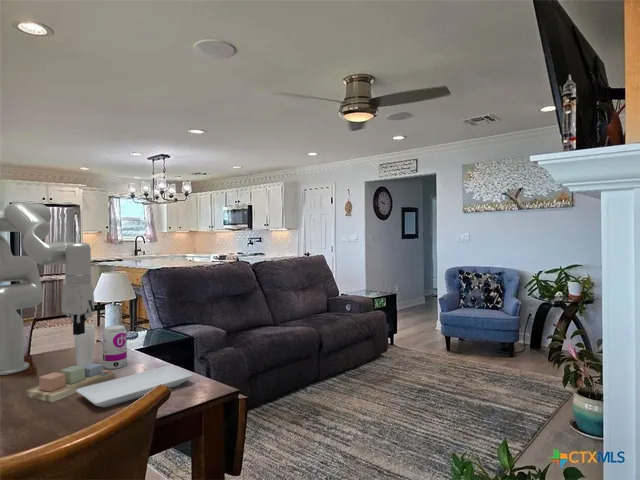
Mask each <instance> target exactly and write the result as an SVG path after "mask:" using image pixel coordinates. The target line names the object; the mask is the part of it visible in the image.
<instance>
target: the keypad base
mask: <svg viewBox="0 0 640 480" xmlns="http://www.w3.org/2000/svg"><path fill="white" fill-rule="evenodd" d="M115 377H116V376H115V371H113V370H105V369H102V373H100V374H98V375H96V376H93V377H91V378H88V377H85V379H84V380H81V381H78V382H76V383H73V384H67V383H65V387H62V388H60V389H57V390H54V391H52V392H48V391H43V390H39V385H37V386H34V387H31V388H28V389H26V390H24V392H25V395H24V396H25V397H26V398H30V399H34V400H40V401H43V402H49V403H54V402H57V401H60V400H63V399H64V398H67V397H70V396H72V395H75V394H78V393H77V392H76V390H77V389H79V388H83V387H86V386H90V385H94V384H98V383H102V382H106V381H110V380H113V379H116V378H115Z"/></svg>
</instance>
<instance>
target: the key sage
mask: <svg viewBox="0 0 640 480" xmlns="http://www.w3.org/2000/svg"><path fill="white" fill-rule="evenodd" d="M59 373H63V374H65V383H67V384H69V385H72V384H75V383H76V382H78V381H81V380H84V379H85V367H80V366H77V365H72V366H71V365H70V366H67V367H65V368H62V369H60V370H59Z"/></svg>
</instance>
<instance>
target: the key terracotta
mask: <svg viewBox="0 0 640 480" xmlns="http://www.w3.org/2000/svg"><path fill="white" fill-rule="evenodd" d="M38 380H39V381H38V383H39V384H38V386H39V390H43V391H48V392H49V393H51V392H54V391H56V390H57V389H60V388H62V387H65V374H63V373H60V372H56V371H53V372H51V373H47V374H44V375H41V376H39V377H38Z"/></svg>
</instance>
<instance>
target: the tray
mask: <svg viewBox="0 0 640 480" xmlns="http://www.w3.org/2000/svg"><path fill="white" fill-rule="evenodd" d="M193 376H194V375H193V374H192V373H189V372H187V371H184V370H182V369H179V368H177V367H174V366H171V365H164V366H161V367H158V368H154V369H150V370H145V371H141V372H138V373H135V374H131V375H127V376H122V377H119V378H113V379H110V380H107V381H105V382H102V383H98V384H94V385H90V386H86V387H83V388H79V389H77V390H76V392H77V393H76V394H79V395H80V396H82V397H83V398H85V399H86V400H88V401H89V402H90V403H92V404H93V405H94V406H97V407H100V408H109V407H111V406H114V405H115V406H116V405H118V404H121V403H124V402H128V401H131V400H134V399H138V398H141V396H142V397H144V396H143V395H144V394H146V393H147V392H149V391H150V390H152V389H153V388H154V387H156V386H158V385H160V384H161V385H167V386H169V387H171V388H174V387H178V386H181V384H183V383H185V382H186V381H188V380H190V379H191V378H193ZM171 388H170V389H171Z"/></svg>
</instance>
